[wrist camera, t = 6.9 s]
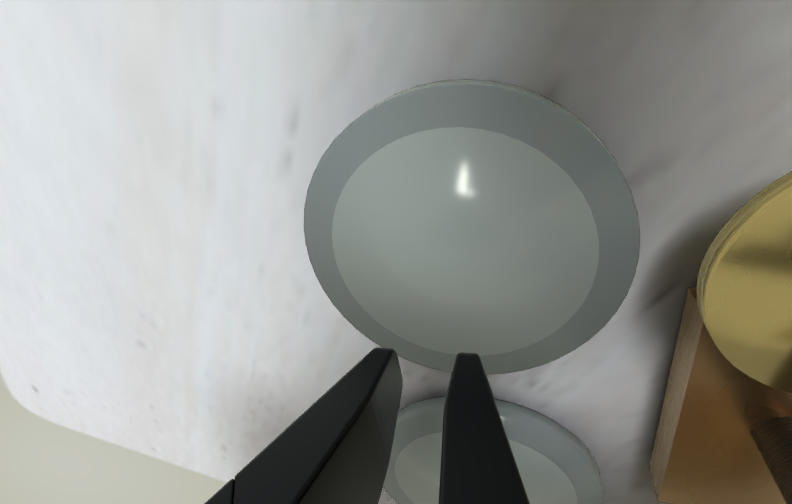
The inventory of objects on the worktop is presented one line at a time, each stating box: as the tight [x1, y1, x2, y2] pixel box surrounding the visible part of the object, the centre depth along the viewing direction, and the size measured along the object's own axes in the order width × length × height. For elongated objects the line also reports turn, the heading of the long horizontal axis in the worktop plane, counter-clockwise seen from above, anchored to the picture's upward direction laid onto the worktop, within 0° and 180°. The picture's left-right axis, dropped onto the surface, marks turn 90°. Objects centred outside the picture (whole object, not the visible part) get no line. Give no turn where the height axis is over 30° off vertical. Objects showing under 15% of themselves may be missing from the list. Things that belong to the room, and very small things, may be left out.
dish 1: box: [304, 79, 640, 375], centre depth 12 cm, size 9×9×1 cm
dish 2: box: [383, 396, 604, 504], centre depth 17 cm, size 9×9×1 cm
